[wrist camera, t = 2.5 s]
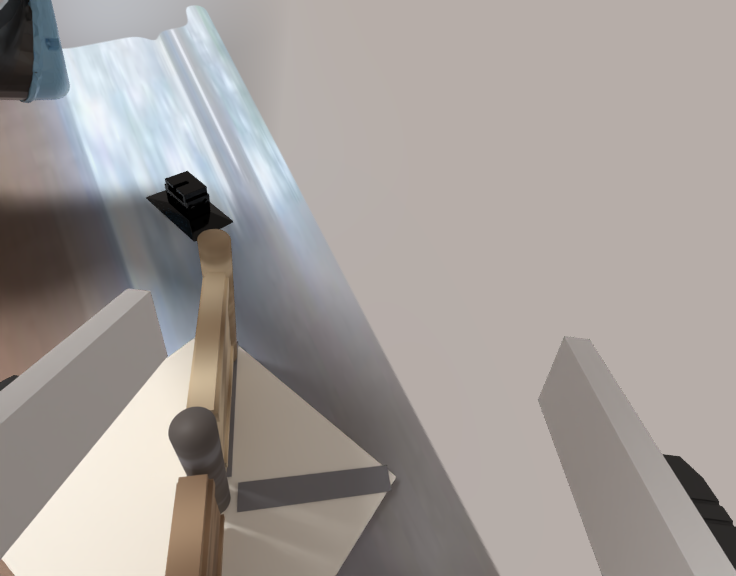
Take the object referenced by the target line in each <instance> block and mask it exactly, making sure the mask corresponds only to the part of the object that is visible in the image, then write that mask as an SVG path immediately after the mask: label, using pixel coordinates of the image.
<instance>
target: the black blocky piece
mask: <svg viewBox="0 0 736 576" xmlns="http://www.w3.org/2000/svg"><path fill="white" fill-rule="evenodd" d="M165 182H166V184H165V189H166V190H165V191H162V192H159V193H157V194H154V195H151V196H148V197H146V199H148V200H149V201H150V202H151V203H152V204H153V205H154V206H155V207H156V208H158V209H159V210H160V211H161V212H162V213H163V214H164V215H165V216H166V217H168V218H169V219H170V220H171V221H172V222H173V223H174V224H175V225H176V226H177V227H179V228H180V229H181V230H182V231H183V232H184V233H185V234H186V235H187V236H189V237H190V238H191V239H192V240H193V241H197V238H198V236H199V235H200V234H201V233H202V232H203V231H206V230H209V229H221V228H223V227H225V226H227V225H229V224H230V223H232V222H233V221H232V220H231V219H230V218H229V217H227V216H226V215H225V214H224V213H222V212H221V211H220V210H219V209H218V208H216V207H215V206H214V205H213V204H211V203H210V200H209V194H208V193H207V187H206V186H205V185H204V184H203V183H202V182H200V181H199V180H198V179H197V178H195V177H194V176H193V175H192V174H190V173H189V172H188V171H186V172H183V173H180V174H177V175H174V176H171V177H169V178H166V179H165Z"/></svg>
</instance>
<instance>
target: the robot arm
mask: <svg viewBox="0 0 736 576" xmlns="http://www.w3.org/2000/svg"><path fill="white" fill-rule="evenodd" d="M69 88H70V84H69V79H68V74H67V70H66V65H65V60H64V56H63V51H62V47H61V42H60V37H59V33H58V28H57V24H56V19H55V15H54V10H53V6H52V1H51V0H0V100H20V101H21V102H25V103H29V102H32V101H33V100H55V99H60V98H63V97H64V96H66V95H67V93H68V91H69ZM167 356H168V355H167V352H166V348H165V344H164V340H163V337H162V333H161V329H160V325H159V322H158V318H157V314H156V310H155V307H154V303H153V299H152V295H151V292H150V291H146V290H137V289H126V290H125V291H124V292H123V293H121V294H120V295H119V296H118V297H116V298H115V299H114V300H113V301H111V302H110V303H109V304H108V305H107V306H105V307H104V308H103V309H102V310H100V311H99V312H98V313H97V314H95V315H94V316H93V317H92V318H90V319H89V320H88V321H87V322H85V323H84V324H83V325H82V326H81V327H79V328H78V329H77V330H76V331H74V332H73V333H72V334H71V335H69V336H68V337H67V338H66V339H64V340H63V341H62V342H61V343H60V344H58V345H57V346H56V347H55V348H53V349H52V350H51V351H50V352H48V353H47V354H46V355H45V356H43V357H42V358H41V359H40V360H39V361H37V362H36V363H35V364H34V365H32V366H31V367H30V368H29V369H27V370H26V371H25V372H24V373H22V374H21V375H20V376H17V375H13V376H11V377H9V378H7V379H6V380H4V381H2V382H0V560H1V558H2V557H3V556H4V555H5V554H6V552H7V551H8V550H9V549H10V547H11V546H12V545H13V544H14V543H15V541H16V540H17V539H18V538H19V537H20V535H21V534H22V533H23V532H24V530H25V529H26V528H27V527H28V526H29V524H30V523H31V522H32V521H33V519H34V518H35V517H36V516H37V515H38V513H39V512H40V511H41V510H42V509H43V507H44V506H45V505H46V504H47V502H48V501H49V500H50V499H51V498H52V496H53V495H54V494H55V493H56V491H57V490H58V489H59V488H60V487H61V485H62V484H63V483H64V482H65V481H66V479H67V478H68V477H69V476H70V474H71V473H72V472H73V471H74V470H75V468H76V467H77V466H78V465H79V463H80V462H81V461H82V460H83V459H84V457H85V456H86V455H87V454H88V453H89V451H90V450H91V449H92V448H93V446H94V445H95V444H96V443H97V442H98V440H99V439H100V438H101V437H102V435H103V434H104V433H105V432H106V431H107V429H108V428H109V427H110V426H111V425H112V423H113V422H114V421H115V420H116V418H117V417H118V416H119V415H120V414H121V412H122V411H123V410H124V409H125V407H126V406H127V405H128V404H129V403H130V401H131V400H132V399H133V398H134V396H135V395H136V394H137V393H138V392H139V390H140V389H141V388H142V387H143V386H144V384H145V383H146V382H147V381H148V379H149V378H150V377H151V376H152V375H153V373H154V372H155V371H156V370H157V368H158V367H159V366H160V365H161V364H162V362H163V361H164V360H165V359H166V358H167ZM538 401H539V404H540V407H541V409H542V412H543V415H544V418H545V421H546V423H547V426H548V429H549V431H550V434H551V437H552V440H553V442H554V445H555V448H556V451H557V453H558V456H559V459H560V462H561V464H562V467H563V469H564V472H565V475H566V478H567V481H568V483H569V486H570V489H571V491H572V494H573V497H574V499H575V502H576V505H577V508H578V510H579V513H580V516H581V519H582V521H583V524H584V527H585V530H586V532H587V535H588V538H589V540H590V543H591V546H592V549H593V552H594V554H595V557H596V560H597V562H598V565H599V568H600V571H601V573H602V576H736V527H734V526H733V521H732V519H731V518H730V517H729V515H728V514H727V512H726V511H725V509H724V508H723V507H722V506H720V505H719V501H718V499H717V498H716V496H715V495H714V493H713V492H712V491H711V489H710V488H709V486H708V485H707V483H706V482H705V480H704V479H703V478H702V477H701V476H700V475H699V474H698V473H697V472H696V471H695V470H694V469H693V468H692V467H691V466H690V465H688V464H687V463H686V462H685V461H684V460H683V459H682V458H681V457H680V456H672V455H664V454H662V453H661V451H660V450H659V448H658V447H657V445H656V443H655V442H654V440H653V439H652V437H651V436H650V434H649V432H648V431H647V429H646V428H645V426H644V424H643V423H642V421H641V420H640V418H639V417H638V415H637V413H636V412H635V410H634V409H633V407H632V406H631V404H630V402H629V401H628V399H627V397H626V396H625V394H624V393H623V391H622V390H621V388H620V387H619V385H618V383H617V382H616V380H615V379H614V377H613V375H612V374H611V372H610V370H609V369H608V367H607V366H606V364H605V363H604V361H603V360H602V358H601V356H600V355H599V353H598V351H597V350H596V348H595V347H594V345H593V344H592V342H591V340H590V339H583V338H574V337H564V338H563V341H562V343H561V346H560V348H559V350H558V353H557V355H556V358H555V360H554V362H553V365H552V367H551V370H550V372H549V374H548V377H547V379H546V382H545V384H544V386H543V389H542V392H541V394H540V396H539V399H538Z"/></svg>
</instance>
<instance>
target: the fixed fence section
mask: <svg viewBox="0 0 736 576" xmlns="http://www.w3.org/2000/svg"><path fill="white" fill-rule="evenodd" d="M197 243H198V249H199V256H200V263H201V270H202V276H203V280H202V288H201V296H200V304H199V312H198V320H197V327H196V335H195V343H194V351H193V359H192V367H191V374H190V382H189V390H188V398H187V406H186V409H185V410H183V411H181V412H180V413H178V414H177V415H176V416H175V417H174V418H173V420H172V422H171V423H170V426H169V430H168V436H169V440H170V442H171V444H172V446H173V448H174V450H175V452H176V454H177V456H178V459H179V461H180V463H181V465H182V467H183V469H184V471H185V473H186V475H187V476H195V475H204V474H207V475H208V478H209V479H214V482H215V495H214V496H215V499H216V502H217V505H218V508H219V511H220V514H221V513H222V512H224V511H225V510H226V509H227V507H228V506H229V503H230V500H231V496H230V490H229V485H228V479H227V474H226V470H227V467H228V450H229V432H230V414H231V396H232V378H233V362H235V360H236V359H237V337H236V320H235V303H234V285H233V268H232V251H231V238H230V236H229V234H228V233H226V232H225V231H223V230H219V229H209V230H206V231H203V232H202V233H201V234H200V235H199V236H198V238H197Z"/></svg>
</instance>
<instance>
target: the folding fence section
mask: <svg viewBox="0 0 736 576" xmlns="http://www.w3.org/2000/svg"><path fill="white" fill-rule="evenodd" d="M214 495H215V482H214V479H209V478H208V475H207V474H204V475H195V476H186V477H179V479H178V483H177V484H176V492H175V500H174V508H173V516H172V524H171V532H170V539H169V547H168V555H167V563H166V571H165V576H222V559H223V541H224V523H225V516H224V514H220V511H219V508H218V505H217V502H216V499H215V496H214Z"/></svg>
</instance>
